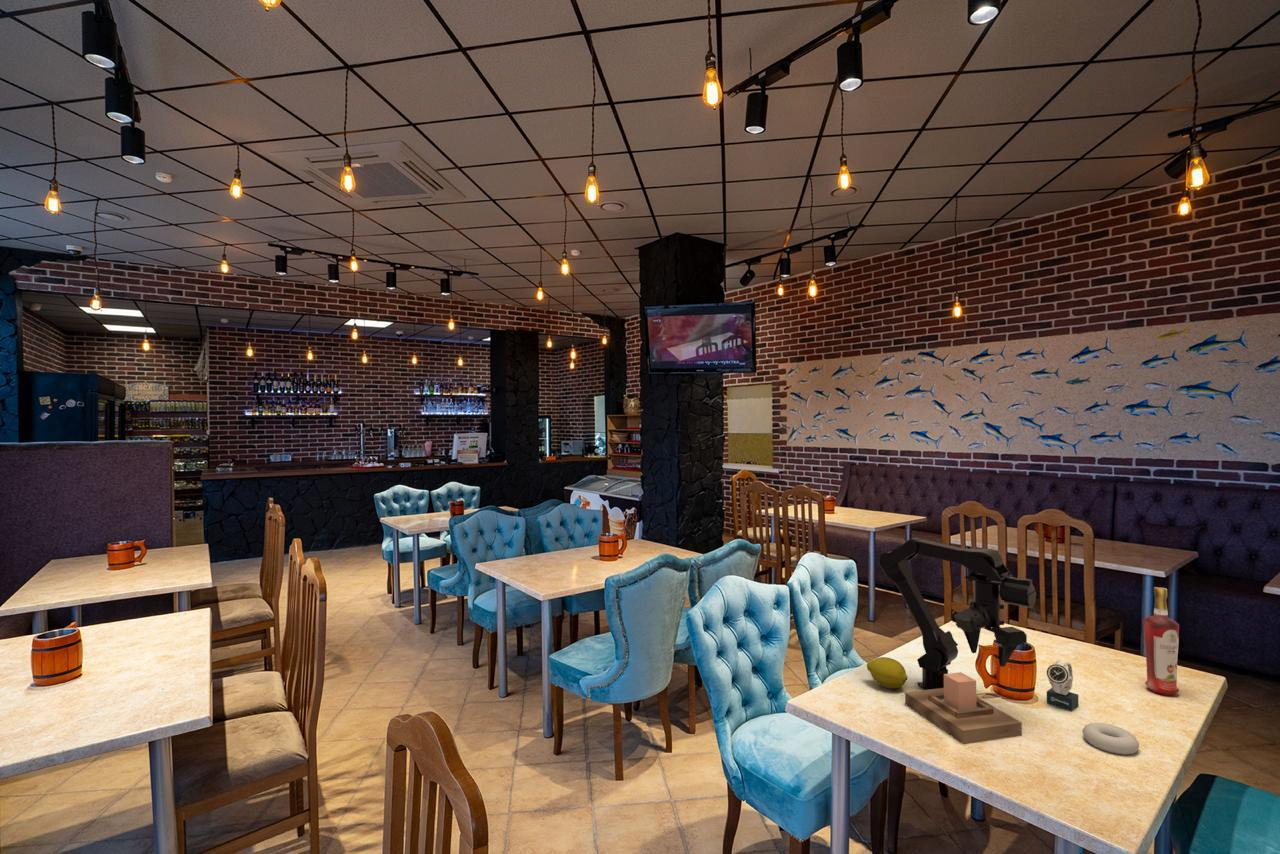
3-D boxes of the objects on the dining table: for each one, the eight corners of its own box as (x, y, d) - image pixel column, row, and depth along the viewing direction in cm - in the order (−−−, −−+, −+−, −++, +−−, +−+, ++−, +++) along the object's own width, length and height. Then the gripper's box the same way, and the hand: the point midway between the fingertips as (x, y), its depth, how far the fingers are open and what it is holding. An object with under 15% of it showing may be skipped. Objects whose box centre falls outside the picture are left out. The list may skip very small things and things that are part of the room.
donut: (1071, 738, 136) (1116, 760, 126) (1071, 723, 136) (1115, 744, 126) (1104, 732, 138) (1151, 753, 128) (1104, 717, 138) (1150, 737, 129)
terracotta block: (943, 702, 146) (943, 674, 146) (961, 700, 147) (960, 672, 147) (958, 711, 141) (958, 682, 141) (976, 709, 142) (976, 680, 142)
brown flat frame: (905, 703, 152) (905, 687, 152) (957, 697, 156) (957, 681, 156) (963, 743, 133) (963, 725, 133) (1021, 735, 136) (1021, 717, 136)
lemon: (913, 689, 161) (913, 660, 161) (899, 697, 156) (898, 667, 156) (877, 676, 169) (876, 649, 169) (862, 684, 164) (861, 655, 164)
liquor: (1165, 686, 162) (1164, 585, 162) (1187, 698, 154) (1186, 592, 154) (1137, 685, 162) (1135, 584, 162) (1157, 697, 155) (1156, 591, 155)
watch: (1043, 705, 151) (1043, 662, 151) (1056, 697, 156) (1055, 655, 156) (1069, 713, 146) (1068, 669, 146) (1081, 705, 151) (1081, 662, 151)
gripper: (934, 591, 158) (935, 649, 158) (989, 612, 140) (990, 677, 140) (969, 588, 161) (969, 645, 161) (1028, 608, 143) (1028, 672, 142)
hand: (987, 659), depth 151 cm, fingers open, 9 cm apart
